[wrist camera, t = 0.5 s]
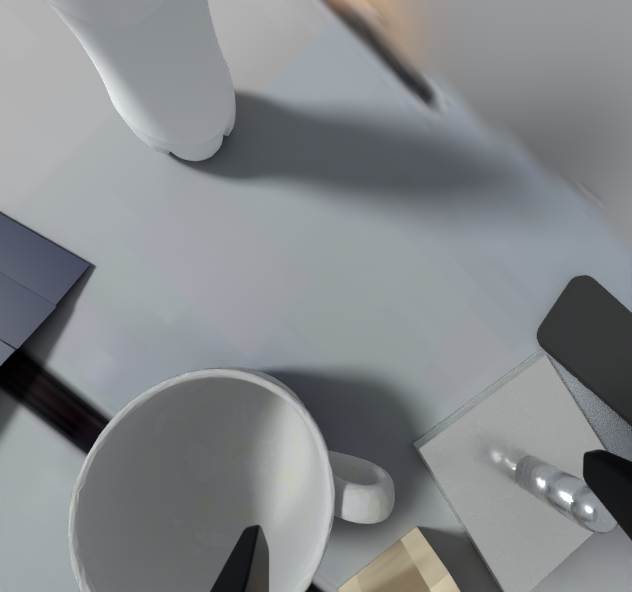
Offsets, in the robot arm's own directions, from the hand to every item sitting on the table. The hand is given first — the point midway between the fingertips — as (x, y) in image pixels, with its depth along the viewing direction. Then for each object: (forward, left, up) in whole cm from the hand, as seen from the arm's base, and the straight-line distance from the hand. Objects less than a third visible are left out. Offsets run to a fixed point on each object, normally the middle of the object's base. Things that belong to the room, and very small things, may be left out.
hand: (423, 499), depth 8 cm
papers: (+20, +28, -13) cm, 37 cm away
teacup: (0, +6, -13) cm, 15 cm away
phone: (-11, -21, -14) cm, 28 cm away
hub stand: (-12, -9, -13) cm, 20 cm away
